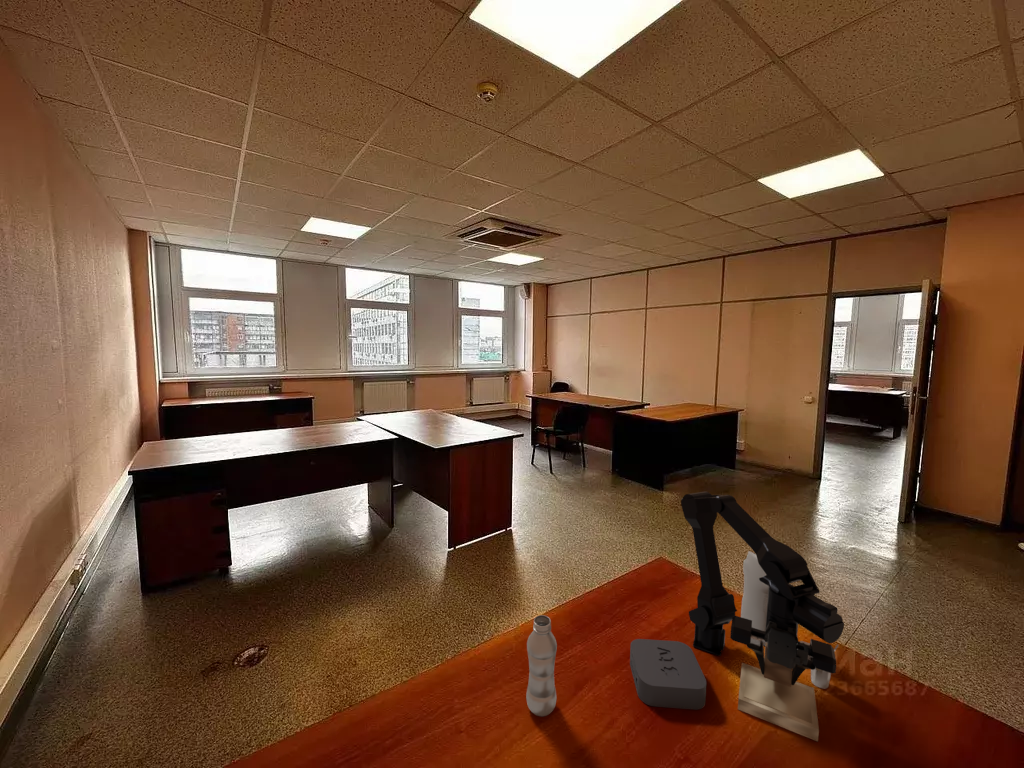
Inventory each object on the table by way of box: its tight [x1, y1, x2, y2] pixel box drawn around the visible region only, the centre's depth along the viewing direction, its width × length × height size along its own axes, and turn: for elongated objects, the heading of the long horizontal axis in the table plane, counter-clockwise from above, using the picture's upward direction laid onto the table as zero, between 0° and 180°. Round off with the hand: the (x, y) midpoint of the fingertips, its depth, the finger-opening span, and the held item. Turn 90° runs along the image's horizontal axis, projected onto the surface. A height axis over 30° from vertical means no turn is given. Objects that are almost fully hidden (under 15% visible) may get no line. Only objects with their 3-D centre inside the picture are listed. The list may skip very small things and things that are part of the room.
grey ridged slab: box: [740, 550, 769, 647], centre depth 113 cm, size 11×4×22 cm, turn 8°
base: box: [737, 662, 820, 742], centre depth 92 cm, size 14×12×3 cm
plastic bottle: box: [525, 614, 558, 717], centre depth 90 cm, size 6×7×20 cm
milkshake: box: [810, 643, 839, 690], centre depth 97 cm, size 4×5×10 cm
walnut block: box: [764, 643, 792, 687], centre depth 94 cm, size 5×5×6 cm
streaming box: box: [629, 638, 707, 711], centre depth 98 cm, size 14×14×5 cm
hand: (777, 678), depth 92 cm, fingers closed on walnut block, 5 cm apart
